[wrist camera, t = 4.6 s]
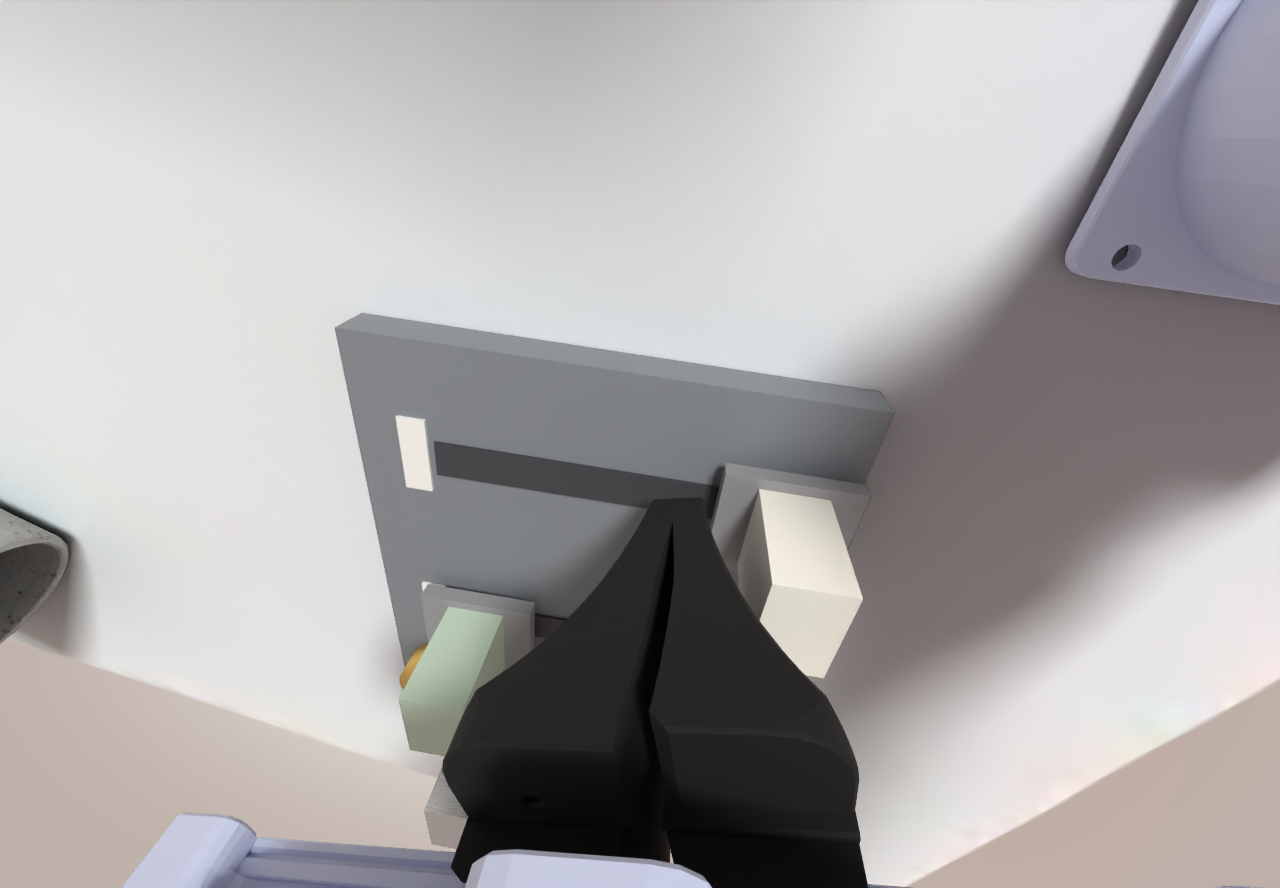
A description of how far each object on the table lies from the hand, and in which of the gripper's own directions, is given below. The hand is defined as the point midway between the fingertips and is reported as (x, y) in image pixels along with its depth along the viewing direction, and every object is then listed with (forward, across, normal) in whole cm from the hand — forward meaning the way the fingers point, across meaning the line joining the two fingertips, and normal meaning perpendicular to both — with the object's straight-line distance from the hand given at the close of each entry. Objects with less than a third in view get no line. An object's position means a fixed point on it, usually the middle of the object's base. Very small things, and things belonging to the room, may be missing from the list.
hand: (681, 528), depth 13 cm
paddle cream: (+1, -3, +1) cm, 3 cm away
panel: (+3, +4, +6) cm, 7 cm away
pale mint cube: (+1, +7, +5) cm, 9 cm away
